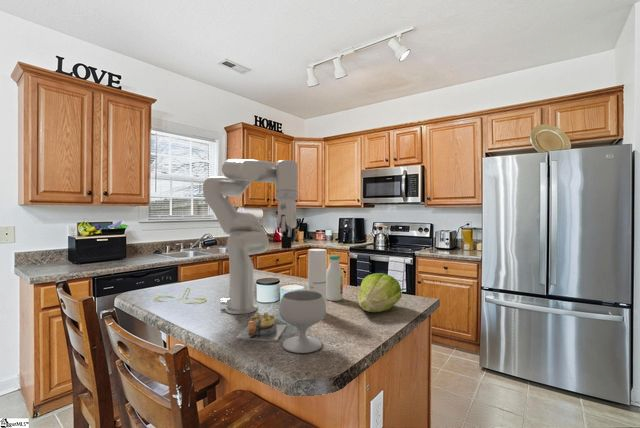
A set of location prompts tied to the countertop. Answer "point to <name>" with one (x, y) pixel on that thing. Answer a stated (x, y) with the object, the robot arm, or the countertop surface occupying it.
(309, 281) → the cylindrical container
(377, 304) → the lettuce
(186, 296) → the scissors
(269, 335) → the cap plate
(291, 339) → the chalice
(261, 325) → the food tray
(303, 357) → the countertop surface
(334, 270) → the milk bottle
